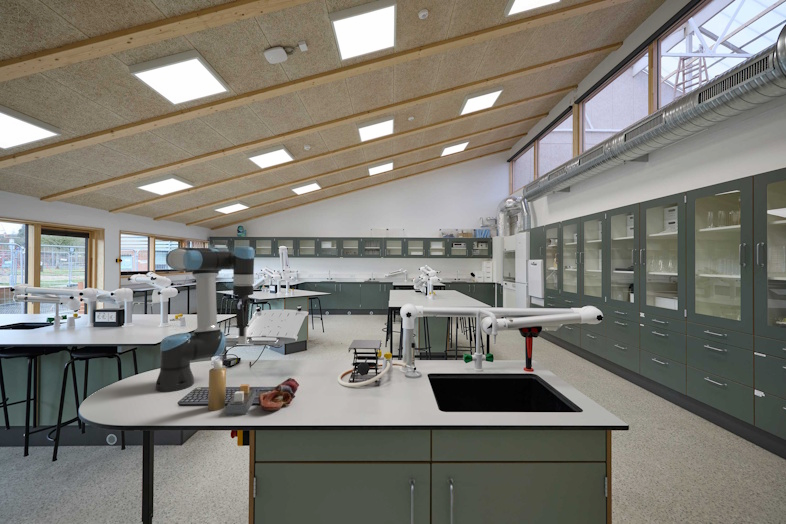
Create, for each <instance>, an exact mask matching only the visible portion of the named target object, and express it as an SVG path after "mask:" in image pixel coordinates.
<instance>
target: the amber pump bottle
mask: <svg viewBox="0 0 786 524" xmlns="http://www.w3.org/2000/svg"><path fill="white" fill-rule="evenodd" d="M208 372H209V373H208V376H209V377H208V397H207V398H208V401H207V409H208V411H214V412H215V411H221V410H223V409H225V408H226V383H227V368H226V367H224V366H223V361H222V360H217V361H214V362H213V368H210V369H209V371H208Z"/></svg>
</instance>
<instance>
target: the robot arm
mask: <svg viewBox="0 0 786 524" xmlns="http://www.w3.org/2000/svg"><path fill="white" fill-rule="evenodd" d="M165 261H166V264H167V266H168V267H170V268H171V269H172V270H176V271H180V272H192V273H191V275H192V277H194V278H195V284H196V285H195V287H196V288H195V289H196V321H197V322H196V323H197V326H196V328H195V330H194V331H193V335H191V333H190V332H180V333H175V334H171V335H168V336H166V337H164V338H162V339H161V342H160V348H159V351H160V361H159V363H160V366H159V367H160V370H159V373H158V377H157V379H156V381H155V388H154V389H155V390H156V391H158V392H176V391H180V390H185V389H188V388H189V387H192V386H193V385H194V384H195V378H194V374H193V372H192V370H191V369H192V368H191V361H192V362H193V361H197V360H203V359H209V358H213V357H218V356H221V354H223V352H224V350H225V347H226V341H227V340H226V339H227V338H226V334H225V333H224V331H221V330H222V329H221V327H220V326H218V319H217V318H218V317H217V314H218V313H217V312H218V311H217V310H218V309H217V283H216V278H217V277H218V276H219V274H220V273H219V272H221V271H222V270H232V271H233V275H232V277H231V279H232V280H233V286H232V294H233V296H237V300H236V303H235V305H234V306H235V314H236V316H235V317H236V327H235V328H236V329H238V340H237V341H238V343H237V344H238V345H246V344H247V340H248V339H247V337H248V336H247V335H248V334H247V330H248V327H249V326H250V324H249V318H250V308H251V307H250V305H251V300H250V298H249V296H252V295H254V283H255V281H254V280H255V279H254V273H255V272H254V271H255V270H254V269H255V267H254V266H255V249H254V248H253V246H234V248H233V251H229V250H228V251H227V250H226V251H219V249H216V248H212V247H211V248H210V247H185V246H183V247H177V248H175V249H171V250H170V251H169V252H168V253H167V255H166V256H165Z"/></svg>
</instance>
